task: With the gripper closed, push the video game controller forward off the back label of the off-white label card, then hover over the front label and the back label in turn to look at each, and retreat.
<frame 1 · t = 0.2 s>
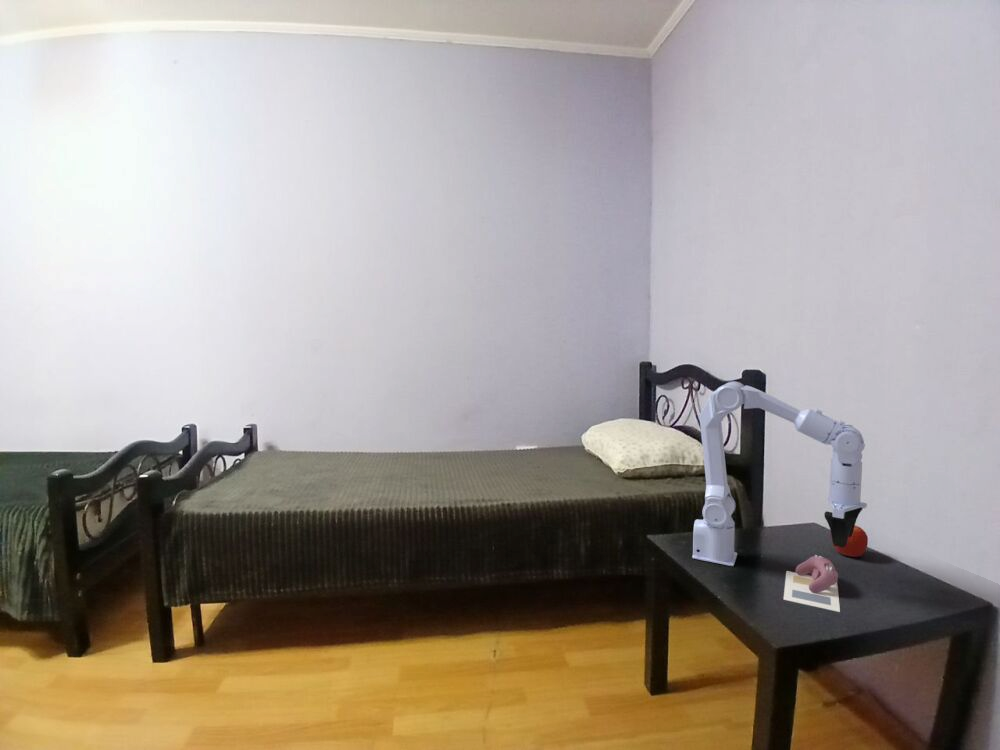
hand: (842, 540, 115), 10 cm above the table, tool pointing down, fingers open, 7 cm apart
apple: (848, 555, 131), on the table
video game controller: (816, 584, 116), on the table, touching label card
label card: (811, 589, 113), on the table
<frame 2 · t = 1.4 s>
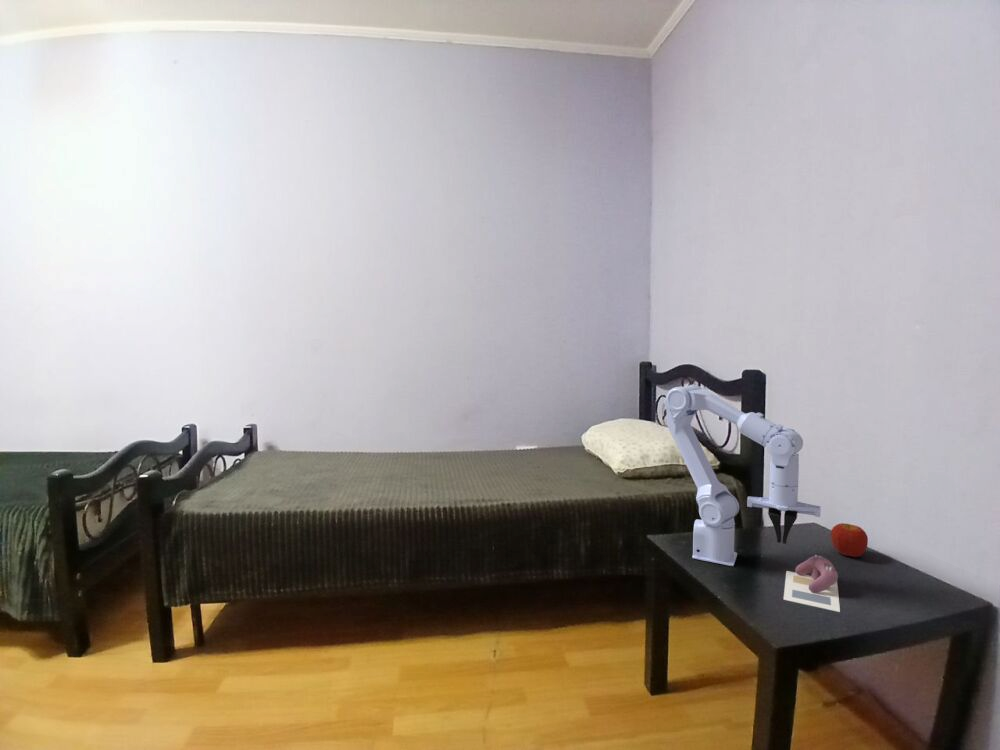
hand: (781, 541, 119), 8 cm above the table, tool pointing down, fingers closed
nothing on the table moved.
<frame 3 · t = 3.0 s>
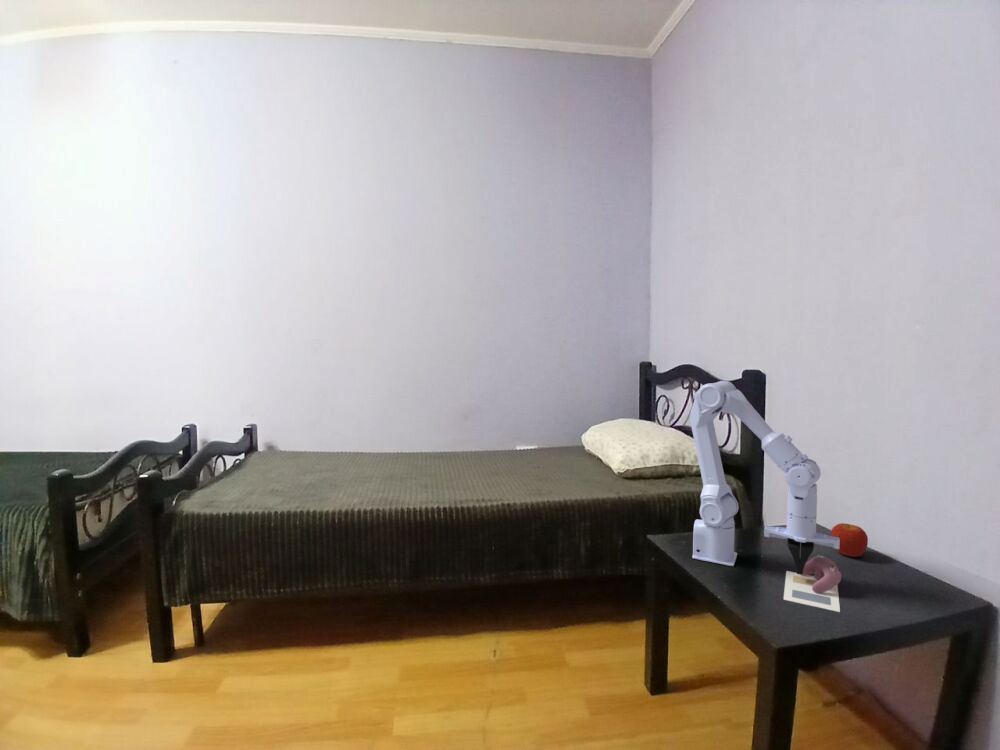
hand: (799, 572, 117), 2 cm above the table, tool pointing down, fingers closed
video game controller: (819, 585, 115), on the table, touching gripper
everything else where it was.
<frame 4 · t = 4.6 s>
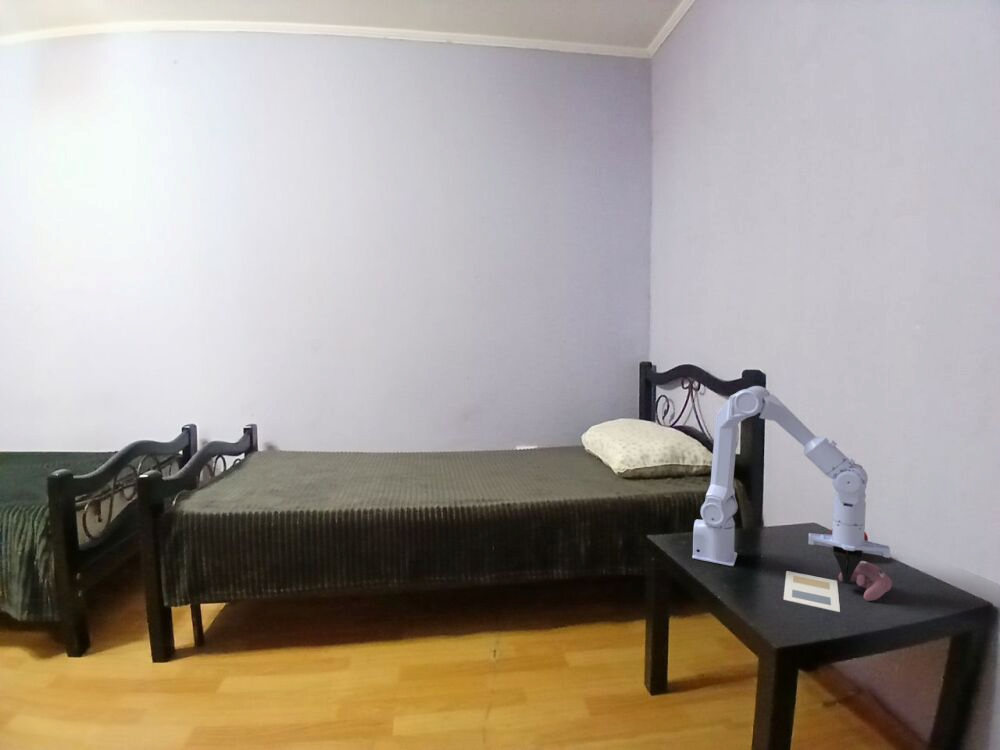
hand: (846, 581, 113), 2 cm above the table, tool pointing down, fingers closed
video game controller: (864, 591, 113), on the table, touching gripper
everything else where it was.
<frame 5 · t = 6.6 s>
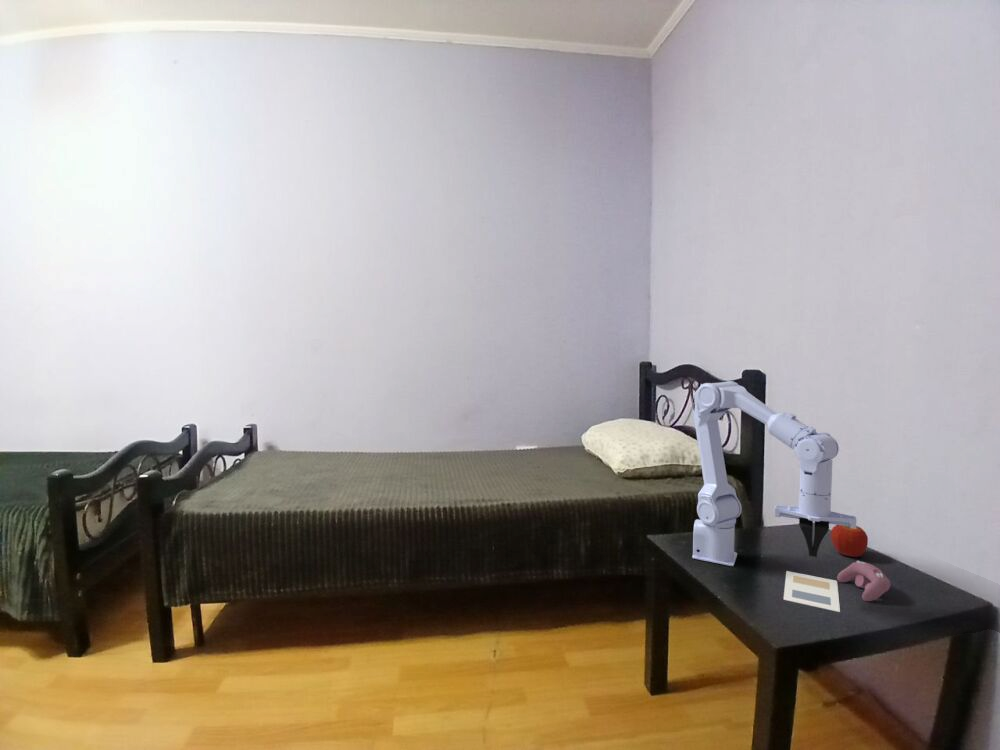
hand: (812, 554, 109), 9 cm above the table, tool pointing down, fingers closed
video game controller: (862, 592, 112), on the table
everything else where it was.
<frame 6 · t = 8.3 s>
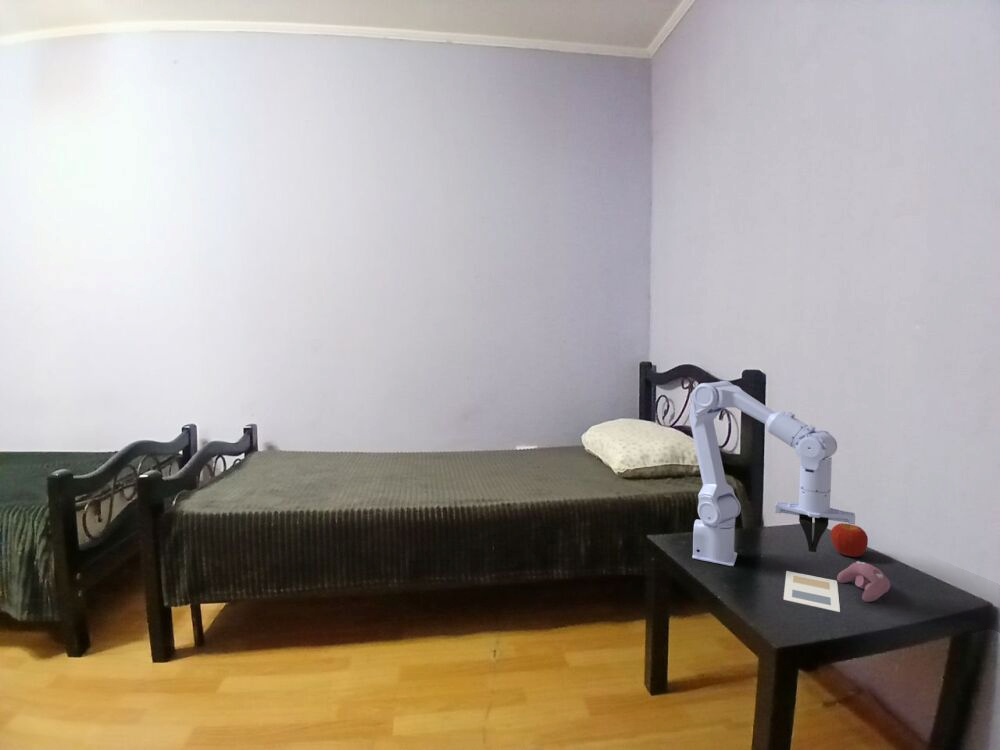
hand: (812, 550, 111), 9 cm above the table, tool pointing down, fingers closed
nothing on the table moved.
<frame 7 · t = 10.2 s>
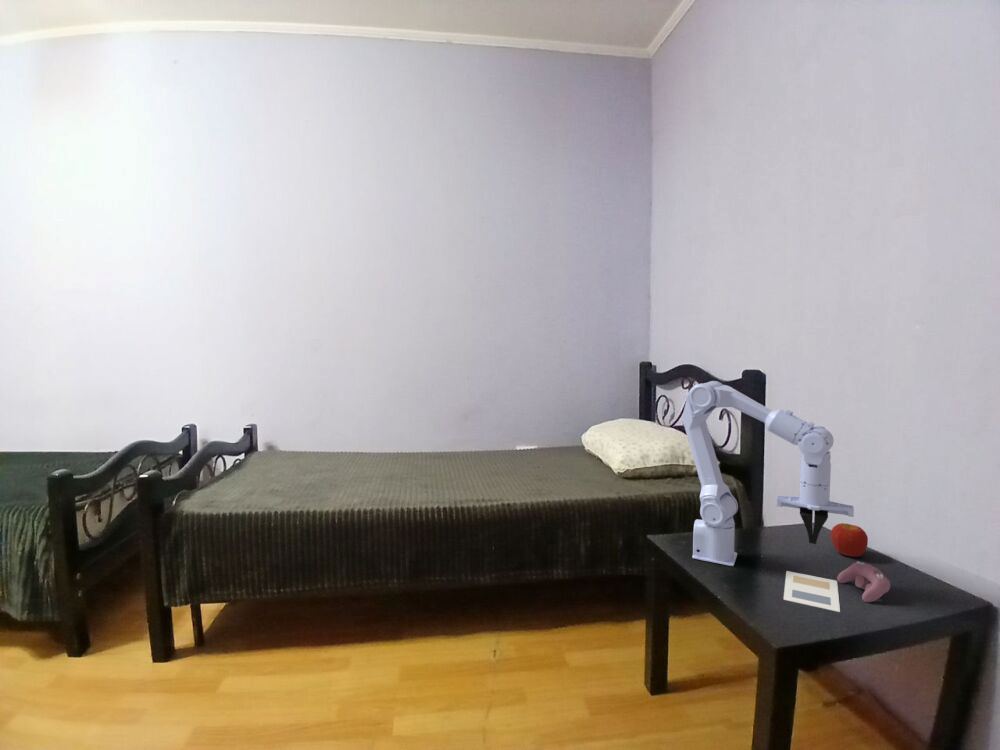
hand: (812, 542, 116), 9 cm above the table, tool pointing down, fingers closed
nothing on the table moved.
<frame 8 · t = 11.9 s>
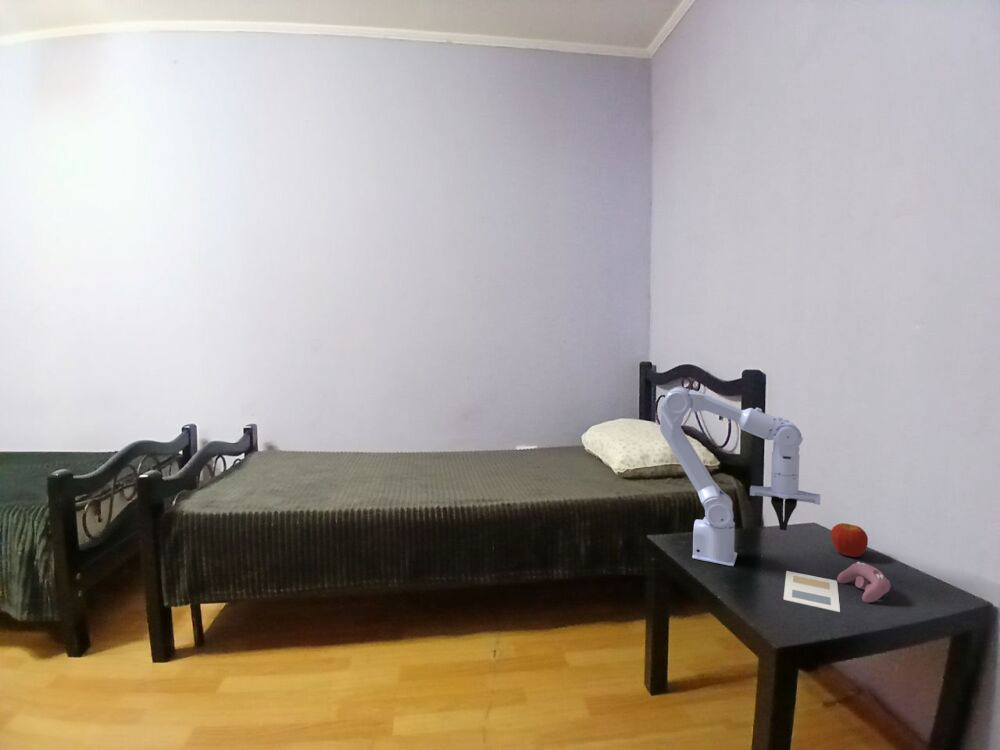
hand: (783, 528, 124), 9 cm above the table, tool pointing down, fingers closed
nothing on the table moved.
at the end: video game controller inside the target area on the table beside the label card (3.0 cm from its centre), on the table; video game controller moved 8.7 cm from its start; apple moved 0.2 cm from its start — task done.
